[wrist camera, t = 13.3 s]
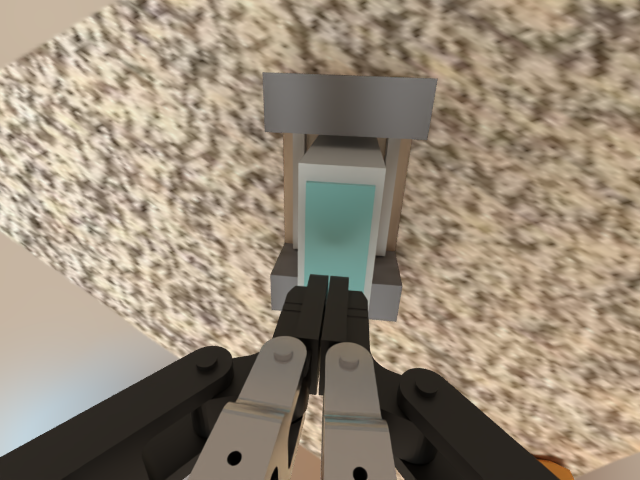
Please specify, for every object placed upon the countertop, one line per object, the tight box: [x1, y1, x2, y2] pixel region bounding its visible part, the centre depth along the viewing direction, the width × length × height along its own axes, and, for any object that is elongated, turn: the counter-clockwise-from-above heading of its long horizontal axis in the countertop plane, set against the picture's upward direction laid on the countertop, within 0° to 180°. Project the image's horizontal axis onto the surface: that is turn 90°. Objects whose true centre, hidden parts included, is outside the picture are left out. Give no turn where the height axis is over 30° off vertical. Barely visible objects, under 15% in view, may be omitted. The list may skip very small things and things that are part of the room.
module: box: [298, 135, 386, 311], centre depth 21 cm, size 4×8×9 cm, turn 178°
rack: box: [263, 72, 437, 322], centre depth 23 cm, size 9×16×6 cm, turn 178°
